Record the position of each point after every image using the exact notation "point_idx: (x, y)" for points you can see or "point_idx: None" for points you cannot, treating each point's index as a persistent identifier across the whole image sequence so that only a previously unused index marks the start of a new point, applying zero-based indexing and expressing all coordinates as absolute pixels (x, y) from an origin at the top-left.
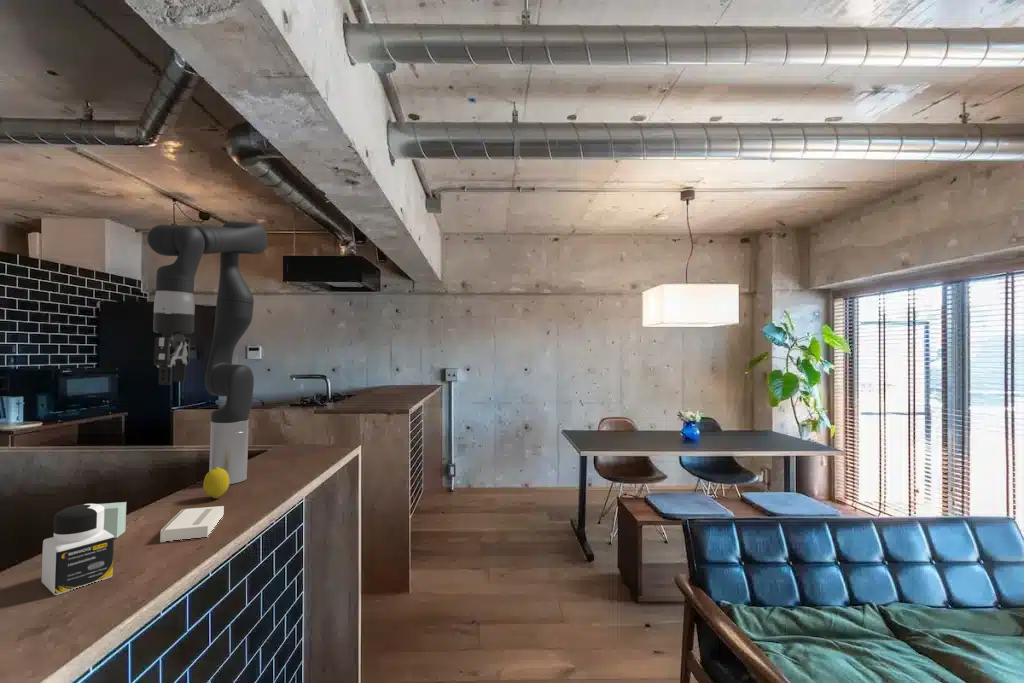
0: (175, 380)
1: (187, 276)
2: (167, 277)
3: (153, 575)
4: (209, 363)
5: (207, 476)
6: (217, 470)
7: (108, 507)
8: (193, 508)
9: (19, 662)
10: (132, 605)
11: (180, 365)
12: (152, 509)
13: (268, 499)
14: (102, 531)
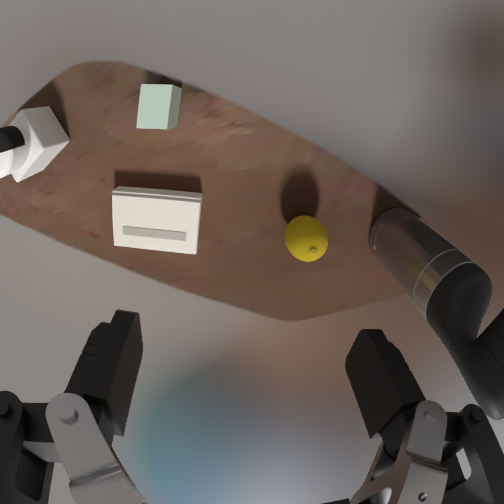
0: (362, 338)
1: None
2: None
3: (41, 206)
4: None
5: (300, 231)
6: (303, 251)
7: (144, 111)
8: (198, 214)
9: None
10: (4, 208)
11: (389, 428)
12: (282, 138)
13: (258, 294)
14: (23, 166)
